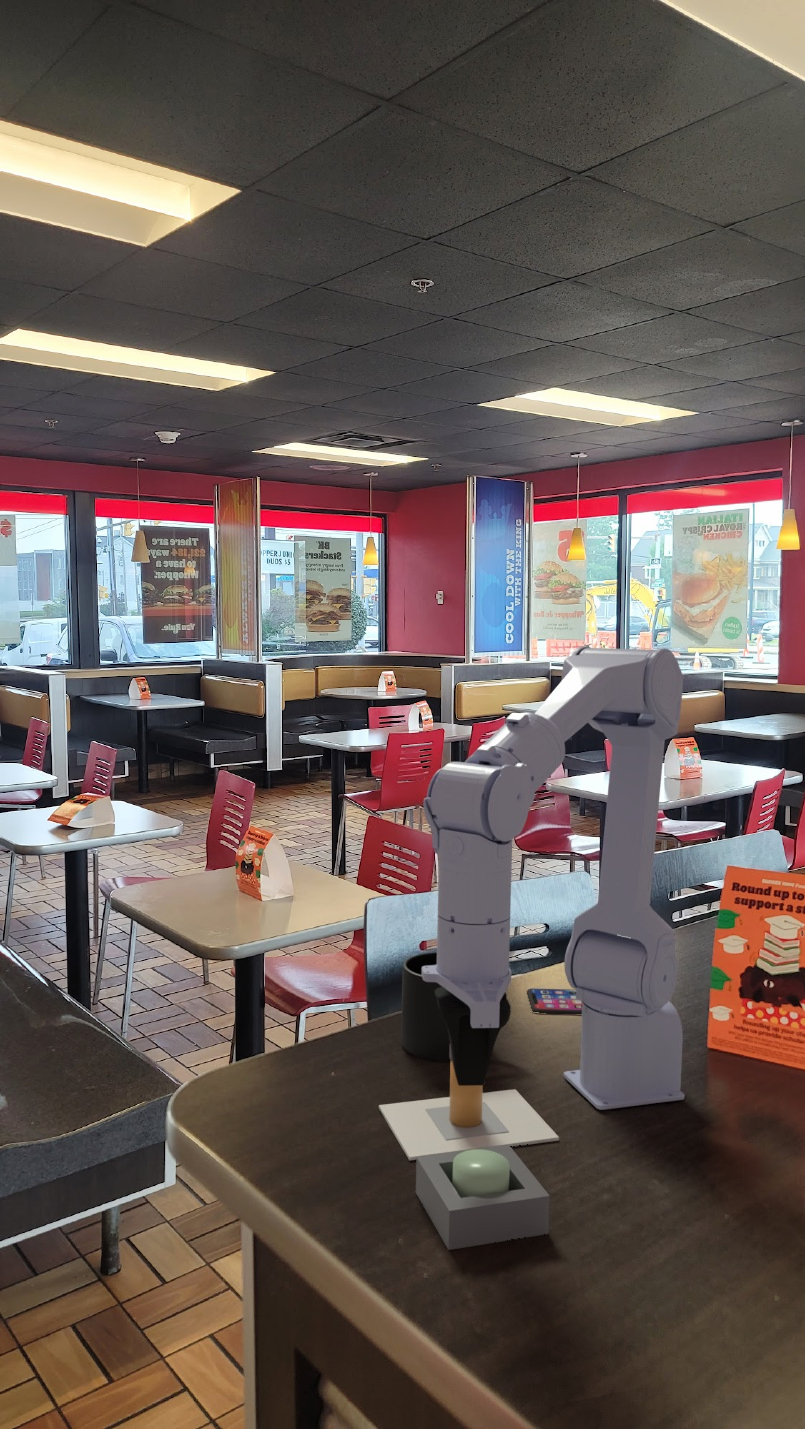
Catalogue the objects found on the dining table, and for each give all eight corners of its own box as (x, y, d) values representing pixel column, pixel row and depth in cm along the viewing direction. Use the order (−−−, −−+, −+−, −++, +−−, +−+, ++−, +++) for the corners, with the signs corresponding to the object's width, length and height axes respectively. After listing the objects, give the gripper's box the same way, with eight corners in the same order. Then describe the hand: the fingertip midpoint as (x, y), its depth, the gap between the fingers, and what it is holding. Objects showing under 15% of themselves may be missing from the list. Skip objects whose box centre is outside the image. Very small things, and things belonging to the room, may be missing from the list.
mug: (499, 1072, 106) (501, 987, 106) (389, 1055, 110) (391, 972, 109) (518, 1038, 115) (520, 959, 114) (415, 1024, 119) (417, 947, 118)
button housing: (507, 1179, 85) (508, 1144, 85) (548, 1233, 78) (549, 1195, 77) (415, 1192, 83) (416, 1156, 83) (448, 1249, 75) (449, 1210, 75)
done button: (496, 1182, 83) (497, 1146, 83) (517, 1211, 79) (518, 1174, 79) (444, 1189, 82) (445, 1153, 82) (463, 1219, 78) (464, 1181, 77)
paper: (515, 1092, 102) (515, 1088, 102) (558, 1140, 92) (558, 1136, 92) (378, 1108, 98) (378, 1104, 98) (409, 1160, 88) (409, 1156, 88)
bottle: (475, 1109, 97) (477, 1037, 96) (488, 1125, 94) (489, 1049, 93) (443, 1114, 96) (444, 1040, 95) (455, 1129, 93) (456, 1053, 92)
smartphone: (658, 1013, 123) (532, 1009, 123) (658, 1020, 123) (532, 1017, 123) (645, 990, 130) (526, 987, 130) (644, 997, 130) (526, 994, 130)
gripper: (415, 891, 88) (413, 1045, 89) (432, 942, 74) (428, 1125, 75) (497, 891, 88) (493, 1044, 90) (529, 942, 74) (524, 1124, 75)
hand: (469, 1081), depth 82 cm, fingers closed
